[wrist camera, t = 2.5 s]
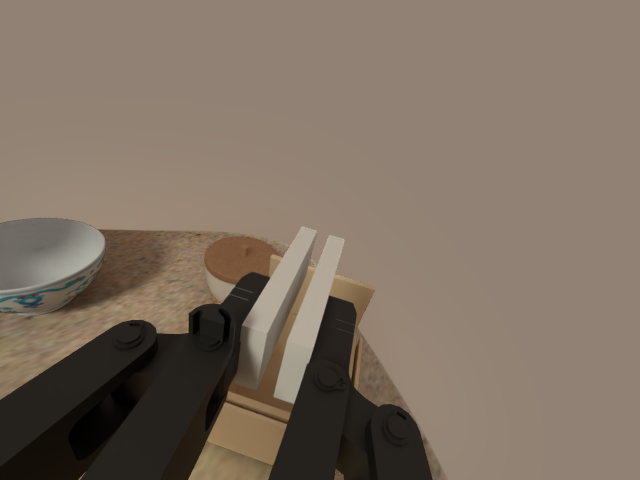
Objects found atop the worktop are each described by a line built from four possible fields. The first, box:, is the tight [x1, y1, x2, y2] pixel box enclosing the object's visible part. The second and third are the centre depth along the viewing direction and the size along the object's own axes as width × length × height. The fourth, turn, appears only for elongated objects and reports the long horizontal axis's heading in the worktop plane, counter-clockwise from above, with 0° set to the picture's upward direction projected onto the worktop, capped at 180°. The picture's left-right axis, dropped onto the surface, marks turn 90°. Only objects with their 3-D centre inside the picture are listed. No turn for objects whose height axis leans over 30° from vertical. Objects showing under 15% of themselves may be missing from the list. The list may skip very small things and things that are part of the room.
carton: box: [207, 313, 363, 472], centre depth 33 cm, size 14×13×8 cm
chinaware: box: [0, 218, 106, 315], centre depth 37 cm, size 15×15×8 cm
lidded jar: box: [204, 237, 279, 303], centre depth 45 cm, size 11×11×9 cm
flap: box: [269, 254, 375, 332], centre depth 33 cm, size 11×1×8 cm, turn 78°
